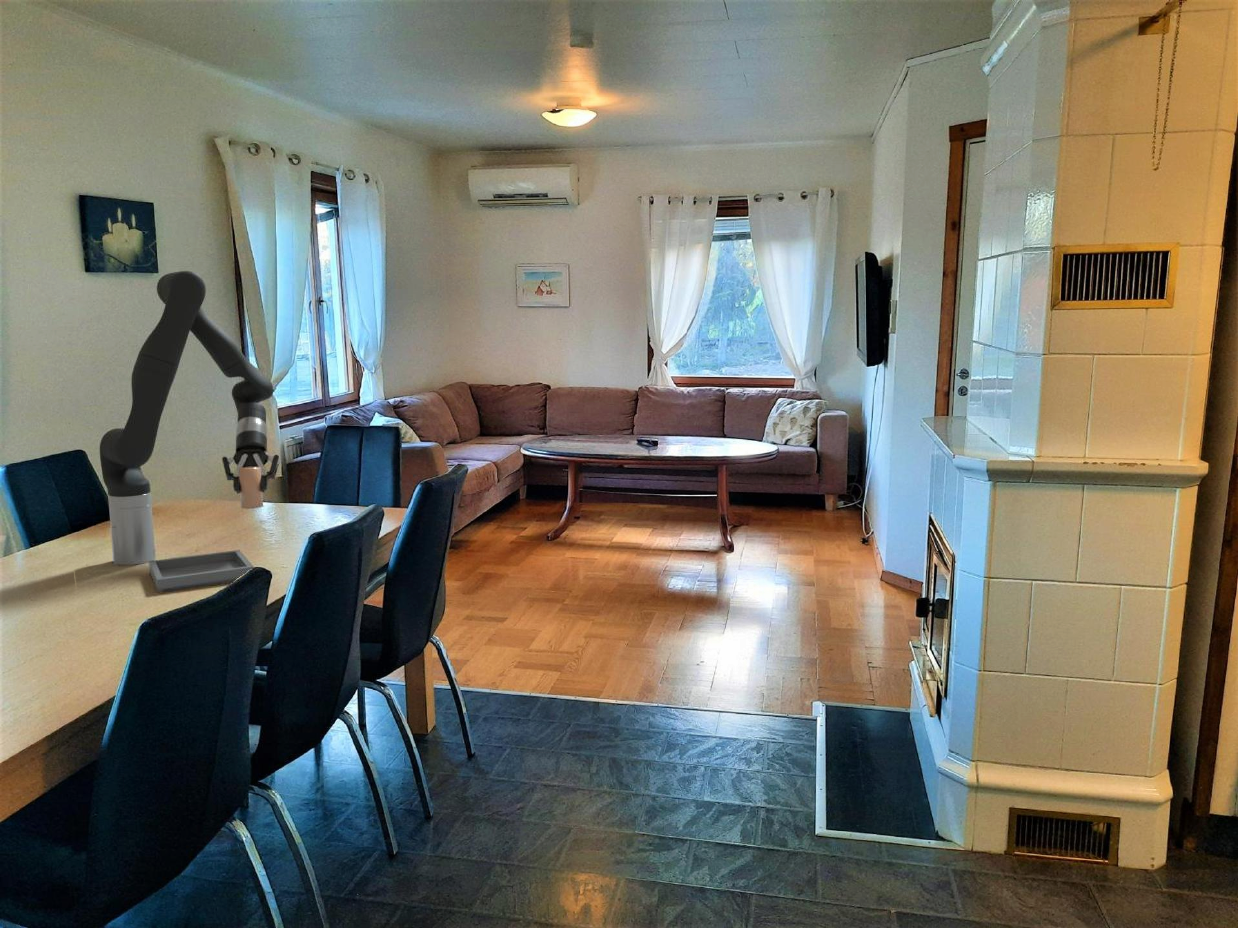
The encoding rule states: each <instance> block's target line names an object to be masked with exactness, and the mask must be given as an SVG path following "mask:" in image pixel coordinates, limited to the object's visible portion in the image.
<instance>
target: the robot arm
mask: <svg viewBox="0 0 1238 928" xmlns="http://www.w3.org/2000/svg"><path fill="white" fill-rule="evenodd" d="M156 284H157V285H156V293H157V296H158V298H159V299H160V301H161V302H163V304H164V305H165V306H164V309H163V311H162V315H161V317H160V319H159V322H157V324H156V325H155V327H154V329H153V330H152V331H151V332H150V334H149V335H148V336H147V338H146V340H145V341H144V343H143V344H142V346H141V348H140V350H139V352H138V354H137V356H136V360H135V362H134V364H133V365H134V366H133V370H132V371H131V380H130V381H131V382H130V383H131V385H130V386H131V399H132V401H131V410H130V412H129V415H128V418H127V420H126V423H125V426H124V427H123V428H121V427H119V428H113V429H110V430H108V431H106V432H105V434H104V435H102V438H101V440H100V442H99V443H100V444H99V460H100V465H101V474H102V480H103V483H104V485H105V487H106V489H107V490H106V491H107V497H108V498H107V499H108V500H107V501H108V508H109V509H108V510H109V511H108V512H109V520H110V521H109V522H110V524H109V528H110V529H109V530H110V538H111V551H112V561H113V564H114V566H133V565H142V564H145V563H149V561H154V560H157V559H156V545H155V542H156V541H155V531H154V520H153V518H154V517H153V509H152V508H153V506H152V495H151V494H152V493H151V484H150V481H149V480H148V478H146V477H145V475H144V474H143V471H142V469H141V467H142V466H144V465H145V464H146V463H148V462H149V460H150V459H151V457H152V455H153V452H154V449H155V445H156V440H157V436H158V431H159V426H160V422H161V418H162V414H163V411H164V408H165V405H166V403H167V400H168V397H169V394H170V391H171V387H172V385H173V383H174V380H175V378H176V375H177V372H178V369H179V365H180V363H181V358H182V356H183V353H184V350H185V347H186V344H187V340H188V337H189V334H190V332H191V333H192V334H193V336H195V338H196V339H197V340H198V341H199V343H200V344H201V345H202V346H203V347H204V349H205V350H206V351H207V353H208V355H209V356H210V357H211V359H212V360H213V361H214V363H215V364H216V365H217V367H218V368H219V370H220V371H221V373H223V375H224V377H227V378H228V379H230V378H231V379H232V378H243V379H244V380H241V381H239V382H237V383H235V384H234V385H233V387H232V390H231V397H232V399H233V401H234V404H235V409H236V412H237V425H236V431H235V453H234V455H233V456H232V457H227V456H223V457H222V458H221V459H222V465H223V469H224V473H225V476H226V480H227V481H233V485H232V486H233V491H234V492H236V494H240V482H239V468H241V467H250V466H258V467H261V492H262V493H265V491H267V490H268V481H269V479H272V480H274V479H275V478H276V475H277V472H278V469H279V466H280V465H279V464H280V456H279V455H278V454H275V455H269V454H268V429H267V410H266V408H265V406H264V405H263V404H261V402H263V401H266V400H268V399H270V398H271V397H272V396H273V394H274V386H273V383H272V382H271V381H272V380H270V379H269V378H268V376H267V375H265V374H264V373H263V372H262V371H261V370H259V369H258V368H257V367H256V366H255V365H253V364H252V363H251V362H250V361H249V360H248V359H247V358H246V356H245V354H243V352H242V351H241V349H240V348H239V347H238V345H237V344H236V343H235V341H234V340H233V339H232V337H230V336H229V335H228V334H227V332H225V331H224V330H223V329H222V328H221V327H220V326H218V325H217V324H216V322H214V321H213V320H212V319H211V318H210V317H209V315H208V314H207V313H206V312H205V311H204V309H203V308H202V305H203V303H204V301H205V298H206V293H207V288H206V283H205V282H204V279H203V278H202V277H201V276H200V275H199V274H198V273H197V272H193V271H191V270H181V271H174V272H170V273H169V272H168V273H166V274H164V275H162V276H161V277H160V278H159V279H158V282H157V283H156ZM268 462H269V464H270V468H269V471H266V468H265V465H266V464H267V463H268ZM233 463H235V465H236V470H235V471H234V473H233V472H231V467H232V466H233Z"/></svg>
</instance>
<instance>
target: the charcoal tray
mask: <svg viewBox="0 0 1238 928" xmlns="http://www.w3.org/2000/svg"><path fill="white" fill-rule="evenodd" d="M148 565H149V566H148V567H149V574H150V577H151V579H152V582H153V584H154V586H155V588H156V591H157V593H158V594H161V593H168V592H174V591H181V590H188V589H195V588H196V589H197V588H203V587H204V588H205V587H209V586H215V585H216V586H217V585H218V586H219V585H223V584H231V583H232V584H233V583H234V582H233V581H235V580H236V579H237V578H239V577H240V576H242V575H243V574H245V573H246V572H247V571H248V570H250V569H253V568H254V565H253V564H252V563H251V561H249V559H248V558H247V557H246V556H245V554H243V553H242V551H241V550H240V549H237V550H235V549H234V550H228V551H221V552H220V551H219V552H212V553H205V554H196V555H187V556H180V557H179V556H178V557H172V558H170V557H169V558H164V559H163V558H162V559H155V560H153V561H149V562H148ZM254 569H255V568H254Z"/></svg>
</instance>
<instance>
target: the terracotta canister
mask: <svg viewBox="0 0 1238 928" xmlns="http://www.w3.org/2000/svg"><path fill="white" fill-rule="evenodd" d="M239 482H240V493H239V494H240V495H239V498H240V508H241V509H245V510H246V509H259V508H263V507H264V499H263V492H261V467H258V466H250V467H241V468H239Z"/></svg>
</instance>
